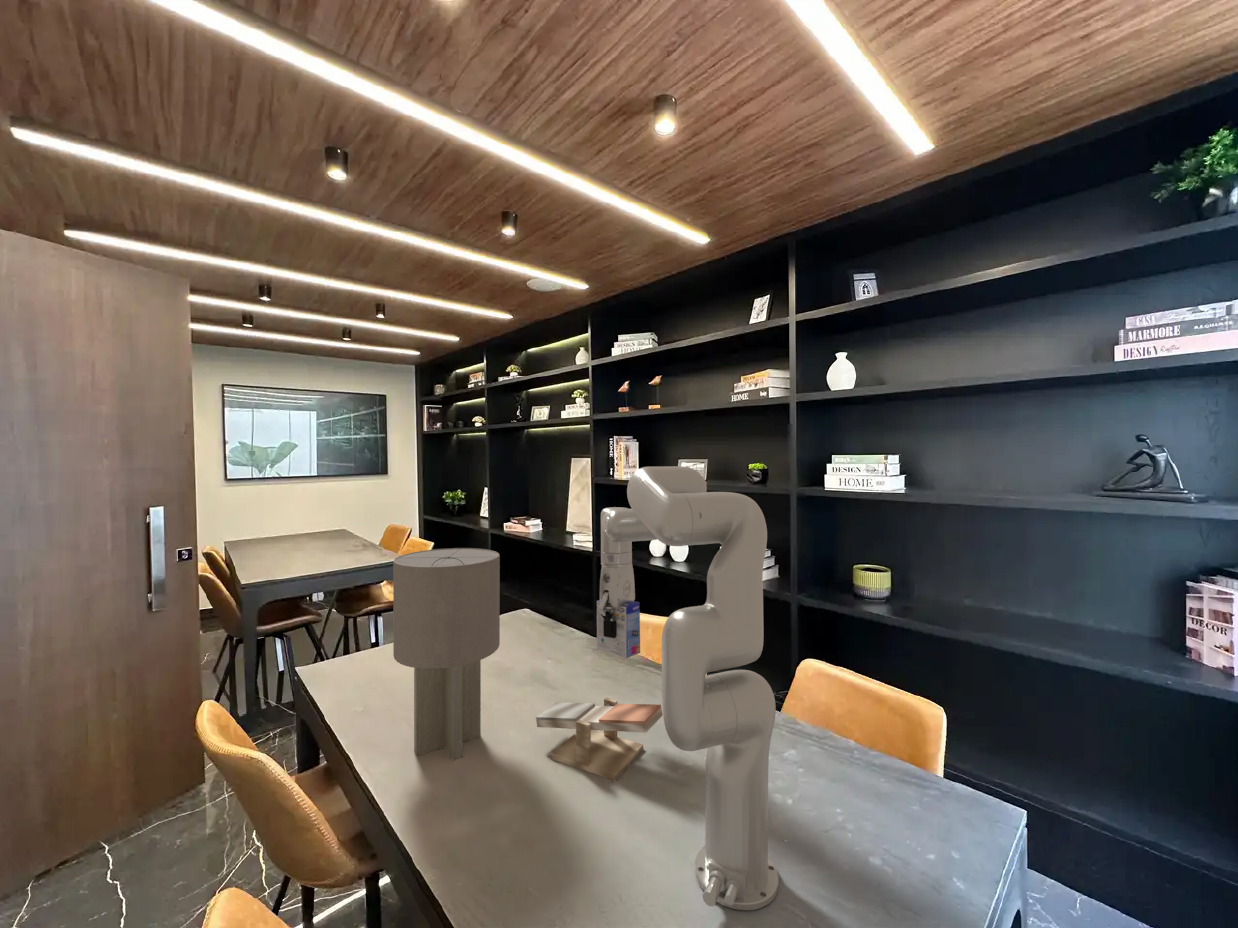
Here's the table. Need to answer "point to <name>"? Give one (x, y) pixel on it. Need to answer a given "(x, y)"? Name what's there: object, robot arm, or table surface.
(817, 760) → the table surface
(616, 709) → the beam
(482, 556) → the lamp
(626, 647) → the ink cartridge box
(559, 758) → the stand
